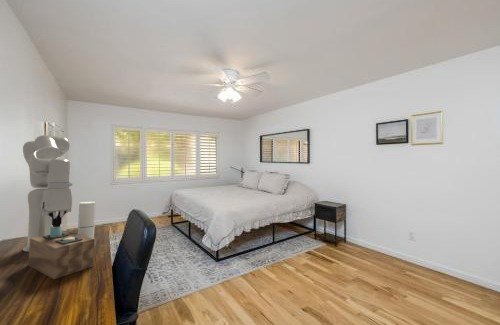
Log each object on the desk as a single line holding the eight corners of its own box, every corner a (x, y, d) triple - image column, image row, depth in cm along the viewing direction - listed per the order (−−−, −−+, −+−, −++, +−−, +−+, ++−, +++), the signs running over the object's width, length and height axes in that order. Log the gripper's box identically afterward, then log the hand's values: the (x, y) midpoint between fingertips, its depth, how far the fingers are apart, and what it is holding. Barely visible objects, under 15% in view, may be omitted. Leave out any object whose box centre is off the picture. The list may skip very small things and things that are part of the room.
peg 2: (59, 267, 96) (61, 239, 97) (70, 264, 100) (72, 236, 100) (64, 269, 94) (66, 240, 95) (75, 266, 98) (76, 238, 98)
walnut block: (54, 279, 88) (55, 246, 88) (28, 265, 99) (29, 237, 100) (93, 266, 100) (94, 237, 101) (66, 255, 112) (67, 230, 112)
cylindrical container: (84, 252, 116) (87, 203, 117) (73, 251, 117) (75, 203, 118) (96, 248, 123) (98, 201, 124) (85, 246, 124) (88, 201, 125)
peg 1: (47, 253, 102) (48, 226, 102) (58, 250, 106) (59, 224, 106) (51, 255, 100) (53, 227, 101) (62, 252, 104) (63, 226, 104)
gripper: (73, 185, 112) (71, 222, 111) (33, 186, 99) (31, 228, 98) (81, 185, 109) (79, 224, 108) (41, 187, 96) (38, 231, 95)
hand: (56, 226), depth 103 cm, fingers closed
